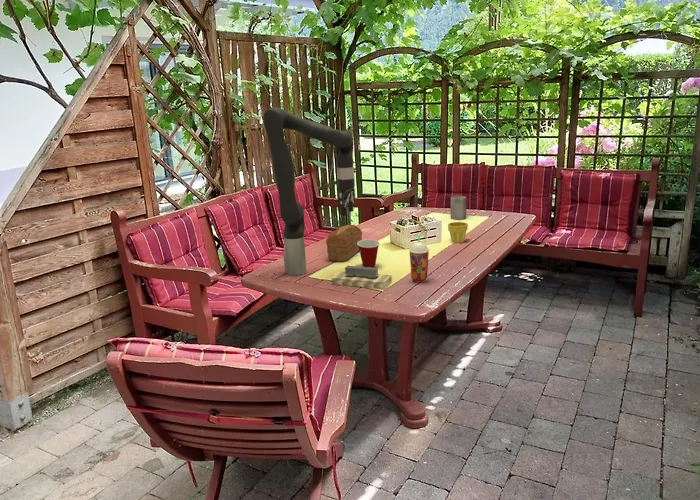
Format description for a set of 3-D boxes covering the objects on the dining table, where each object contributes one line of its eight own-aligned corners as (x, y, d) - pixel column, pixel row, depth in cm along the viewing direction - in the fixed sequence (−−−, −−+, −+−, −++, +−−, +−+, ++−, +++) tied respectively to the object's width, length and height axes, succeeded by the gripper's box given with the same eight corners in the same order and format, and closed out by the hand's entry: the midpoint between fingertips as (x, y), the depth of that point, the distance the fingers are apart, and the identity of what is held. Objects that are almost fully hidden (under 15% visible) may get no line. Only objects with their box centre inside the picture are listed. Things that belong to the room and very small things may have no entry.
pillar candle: (457, 215, 366) (457, 193, 362) (469, 218, 358) (469, 194, 354) (447, 218, 360) (447, 195, 356) (459, 220, 353) (459, 197, 348)
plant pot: (444, 241, 307) (444, 224, 304) (456, 238, 313) (456, 220, 311) (459, 245, 299) (459, 227, 297) (471, 241, 306) (471, 223, 303)
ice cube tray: (332, 284, 247) (331, 277, 247) (341, 277, 256) (340, 270, 256) (384, 289, 239) (384, 282, 238) (391, 281, 247) (391, 275, 247)
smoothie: (427, 276, 252) (427, 232, 246) (430, 282, 244) (430, 237, 238) (408, 277, 252) (407, 233, 246) (411, 283, 244) (410, 238, 238)
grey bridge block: (345, 282, 249) (345, 267, 247) (348, 280, 251) (347, 265, 249) (376, 285, 244) (375, 270, 242) (378, 283, 246) (377, 267, 244)
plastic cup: (361, 271, 263) (360, 246, 260) (355, 264, 273) (354, 240, 270) (383, 268, 266) (383, 243, 263) (376, 262, 276) (375, 238, 273)
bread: (324, 262, 280) (322, 233, 277) (344, 247, 306) (342, 221, 302) (346, 263, 276) (345, 235, 272) (365, 248, 302) (364, 221, 298)
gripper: (344, 174, 257) (345, 210, 261) (331, 179, 244) (333, 216, 248) (359, 175, 254) (360, 210, 258) (347, 180, 241) (349, 217, 246)
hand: (347, 213), depth 253 cm, fingers open, 8 cm apart
